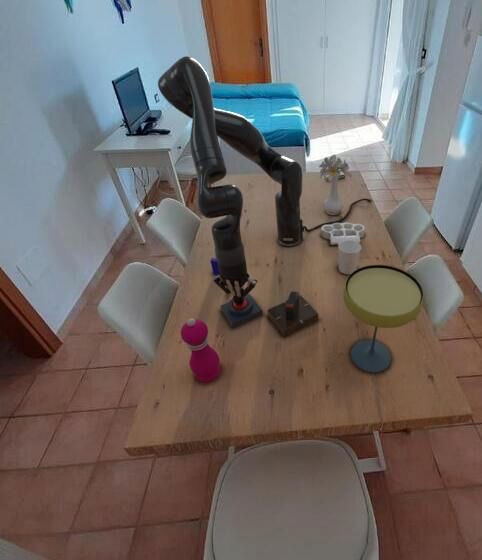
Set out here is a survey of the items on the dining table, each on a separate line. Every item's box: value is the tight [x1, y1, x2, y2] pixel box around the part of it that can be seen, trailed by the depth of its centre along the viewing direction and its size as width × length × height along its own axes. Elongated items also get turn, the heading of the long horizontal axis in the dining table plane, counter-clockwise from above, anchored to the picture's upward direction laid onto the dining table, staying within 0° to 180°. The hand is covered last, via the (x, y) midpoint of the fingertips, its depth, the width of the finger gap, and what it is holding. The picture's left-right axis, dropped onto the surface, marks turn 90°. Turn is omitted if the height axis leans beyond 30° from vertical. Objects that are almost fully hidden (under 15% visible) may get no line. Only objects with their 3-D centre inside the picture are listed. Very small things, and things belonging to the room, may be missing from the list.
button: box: [233, 299, 248, 309], centre depth 101 cm, size 4×4×2 cm
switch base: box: [266, 294, 319, 338], centre depth 100 cm, size 12×11×3 cm
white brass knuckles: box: [320, 222, 366, 246], centre depth 136 cm, size 3×18×15 cm
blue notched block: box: [210, 257, 220, 276], centre depth 120 cm, size 12×4×6 cm, turn 169°
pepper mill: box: [180, 317, 221, 383], centre depth 80 cm, size 7×7×20 cm
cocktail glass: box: [342, 264, 425, 374], centre depth 83 cm, size 18×18×25 cm
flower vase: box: [318, 154, 351, 216], centre depth 145 cm, size 13×18×25 cm
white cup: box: [337, 240, 362, 275], centre depth 117 cm, size 8×8×10 cm
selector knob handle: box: [285, 290, 300, 320], centre depth 98 cm, size 7×2×5 cm, turn 169°
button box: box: [219, 293, 264, 329], centre depth 102 cm, size 10×9×4 cm
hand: (239, 302), depth 100 cm, fingers closed
